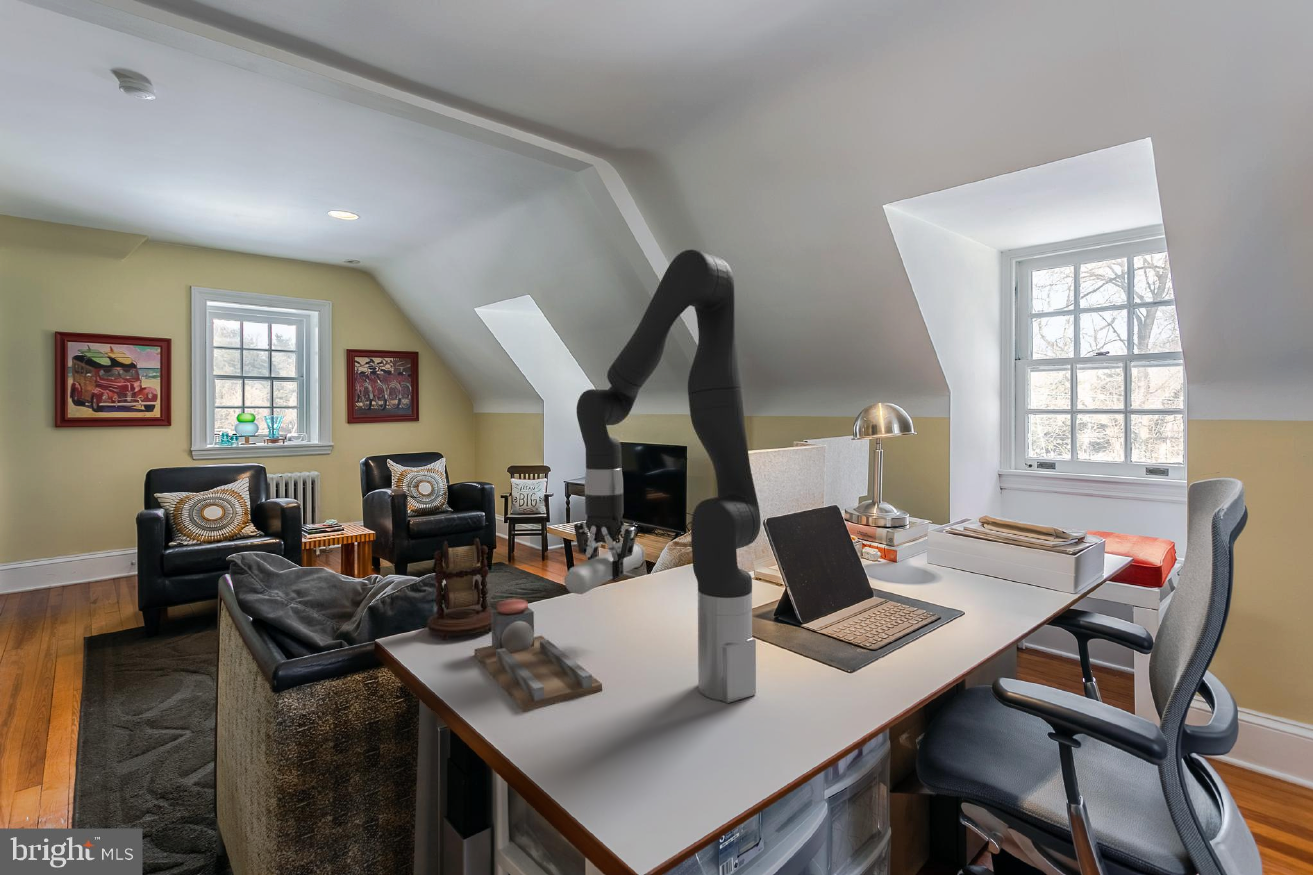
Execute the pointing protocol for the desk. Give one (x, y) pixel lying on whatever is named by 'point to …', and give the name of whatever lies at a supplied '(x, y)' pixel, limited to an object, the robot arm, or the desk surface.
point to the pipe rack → (531, 660)
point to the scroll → (461, 592)
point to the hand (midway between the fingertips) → (605, 576)
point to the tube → (599, 570)
